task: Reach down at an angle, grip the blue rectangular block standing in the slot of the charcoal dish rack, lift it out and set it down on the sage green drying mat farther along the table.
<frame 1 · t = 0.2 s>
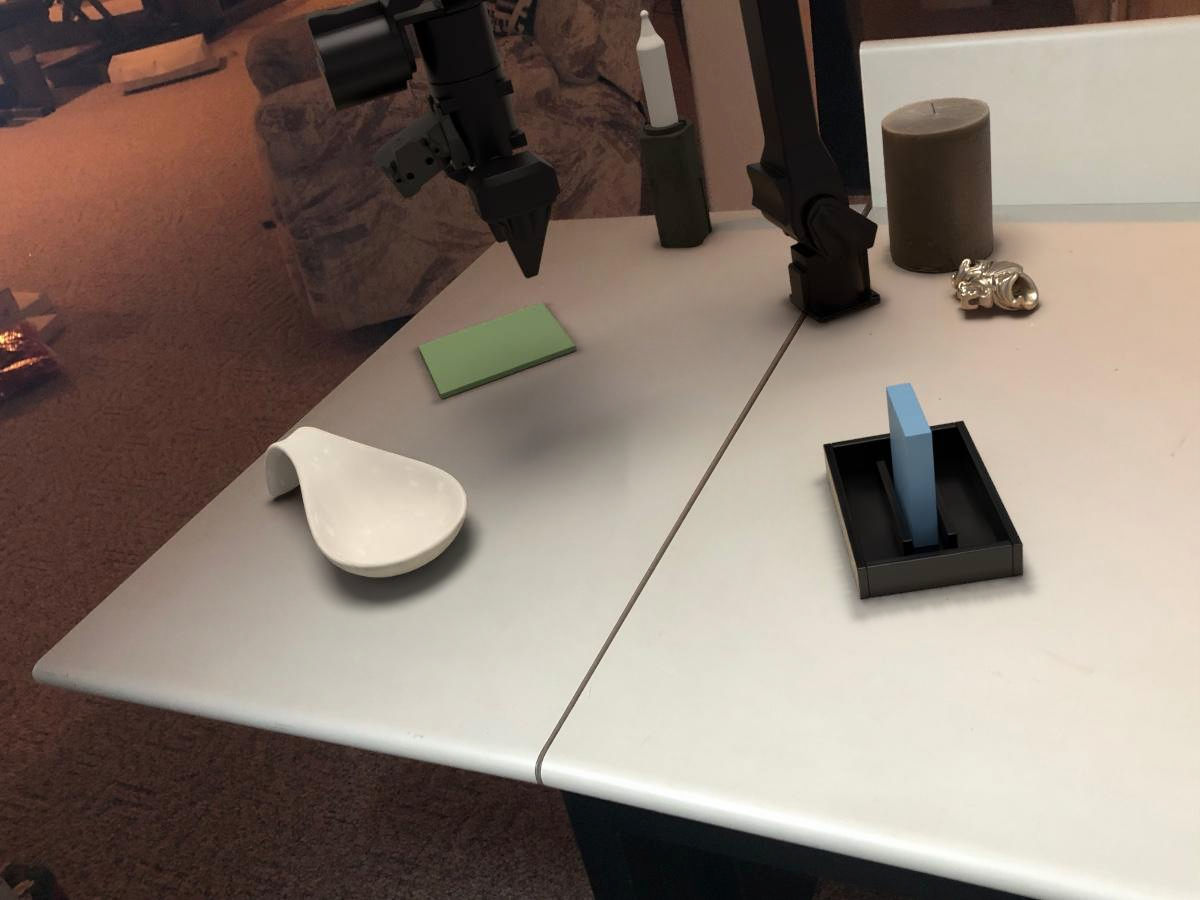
hand: (517, 258, 91), 15 cm above the table, tool pointing down, fingers open, 9 cm apart
candle: (686, 238, 123), on the table
drying mat: (495, 350, 110), on the table
blue rectangular block: (916, 518, 74), point 1 cm above the table, touching dish rack
pillar candle: (941, 252, 107), on the table
spoon rest: (364, 529, 89), on the table
dish rack: (916, 529, 74), on the table
ornament: (989, 305, 97), on the table
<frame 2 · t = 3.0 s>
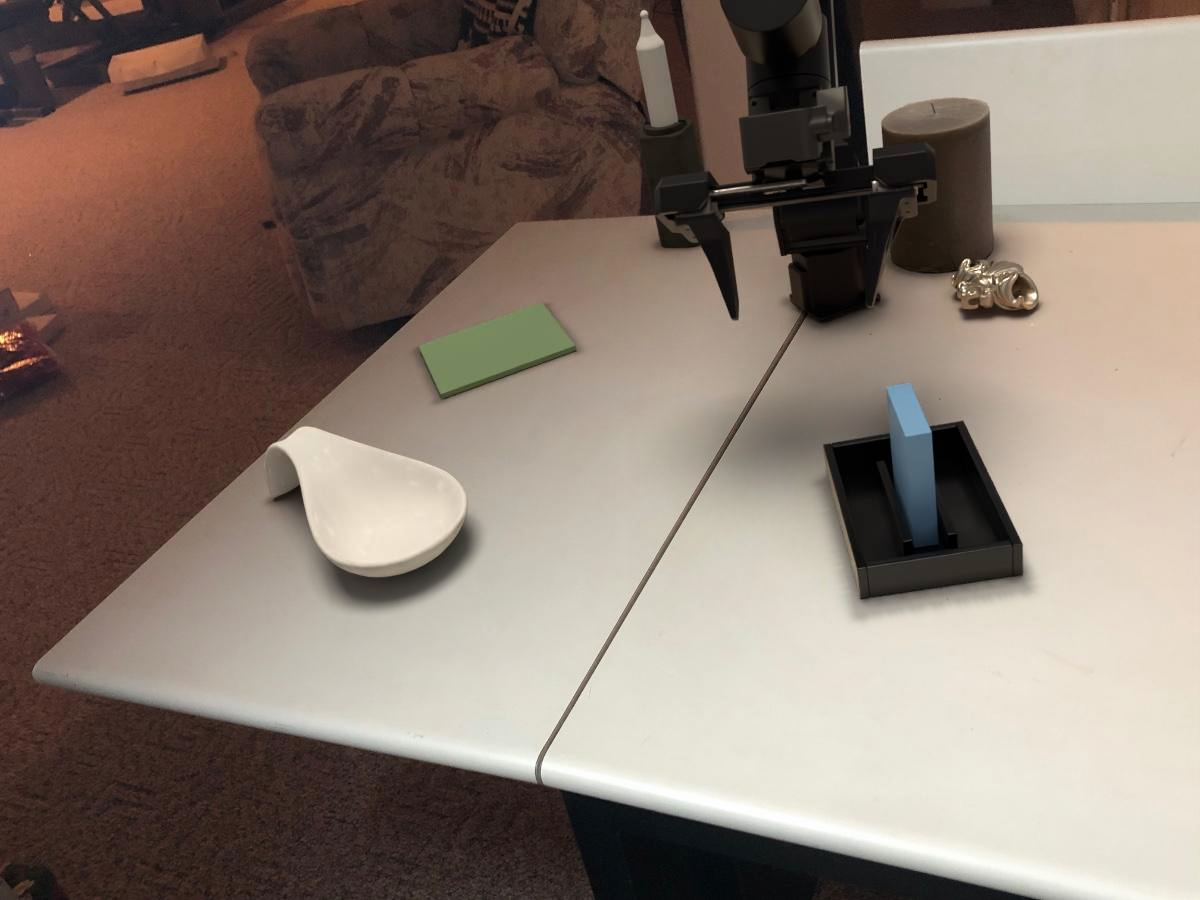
hand: (801, 313, 74), 14 cm above the table, tool tilted 40°, fingers open, 9 cm apart
nothing on the table moved.
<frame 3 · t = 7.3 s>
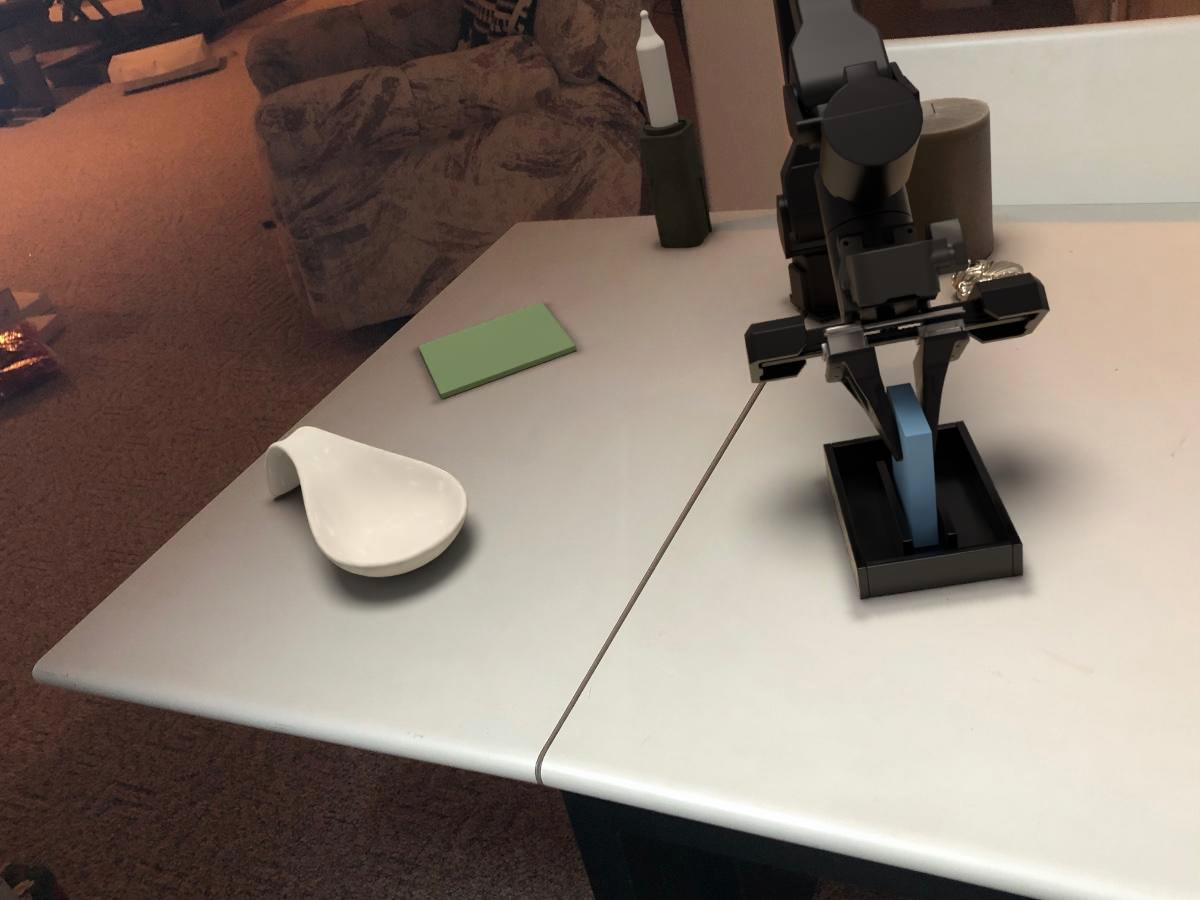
hand: (915, 458, 69), 7 cm above the table, tool tilted 45°, fingers closed on blue rectangular block, 2 cm apart
blue rectangular block: (916, 518, 74), point 1 cm above the table, touching dish rack, gripper
everything else where it was.
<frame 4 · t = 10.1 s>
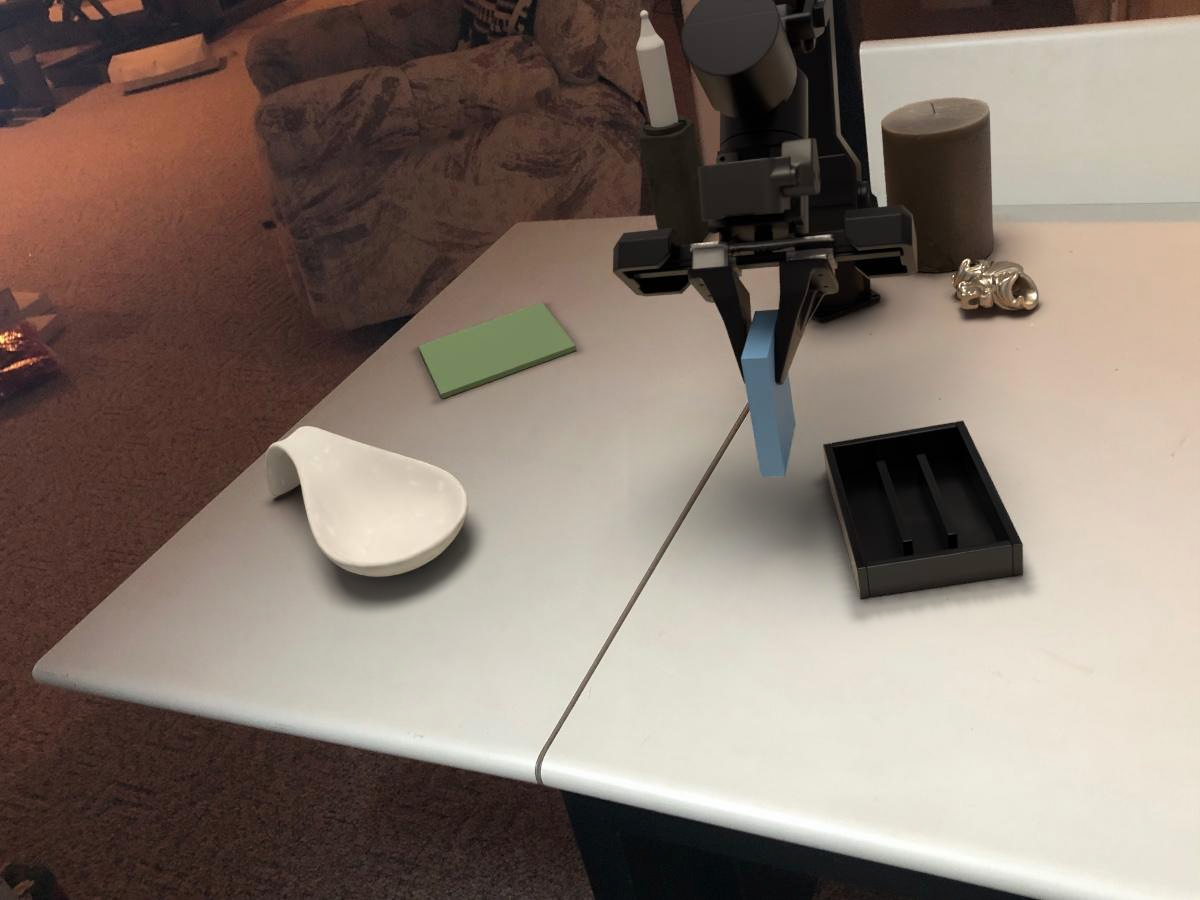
hand: (763, 384, 68), 14 cm above the table, tool tilted 45°, fingers closed on blue rectangular block
blue rectangular block: (778, 449, 72), point 7 cm above the table, touching gripper
everything else where it was.
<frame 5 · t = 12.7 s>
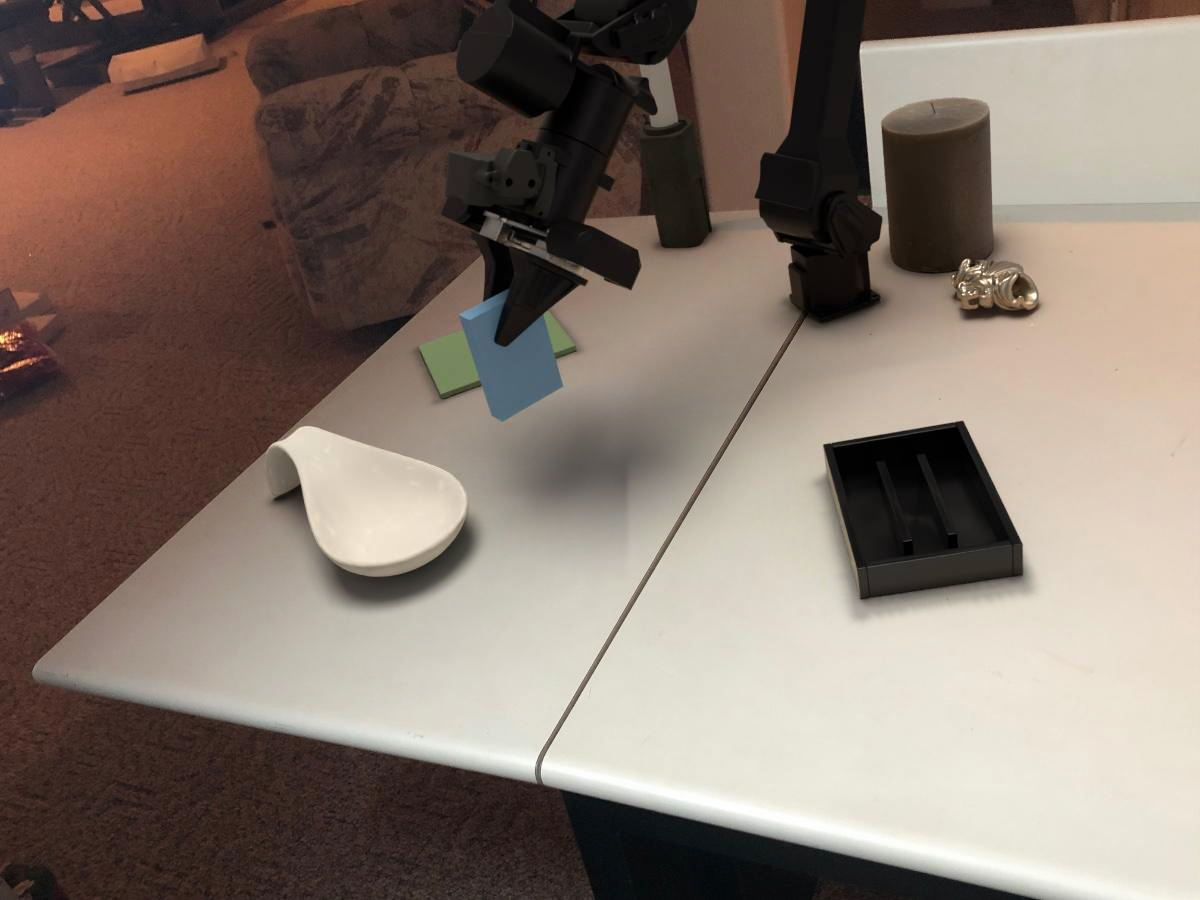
hand: (492, 341, 81), 14 cm above the table, tool tilted 45°, fingers closed on blue rectangular block
blue rectangular block: (527, 401, 85), point 7 cm above the table, touching gripper
everything else where it was.
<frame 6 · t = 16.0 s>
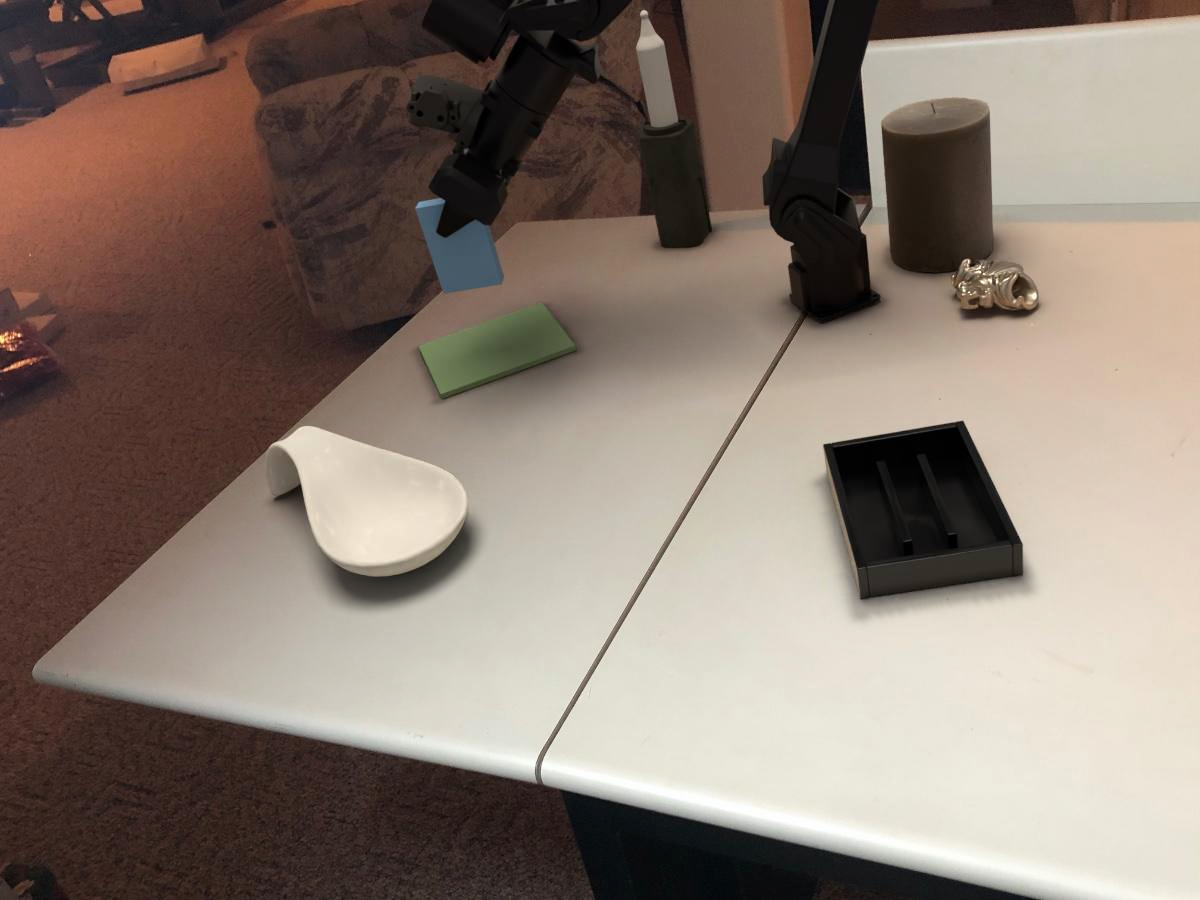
hand: (443, 230, 103), 14 cm above the table, tool tilted 45°, fingers closed on blue rectangular block
blue rectangular block: (473, 285, 106), point 7 cm above the table, touching gripper
everything else where it was.
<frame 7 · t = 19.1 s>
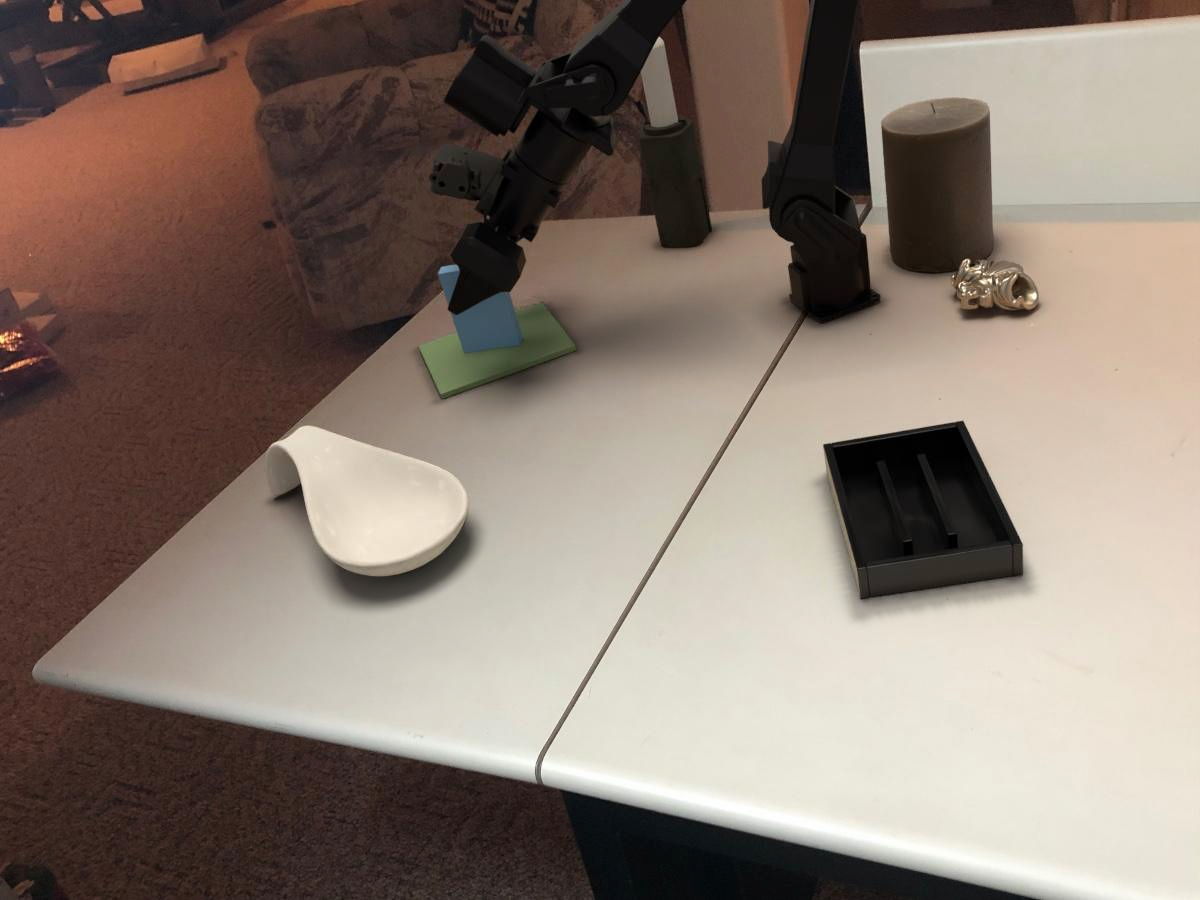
hand: (462, 290, 107), 7 cm above the table, tool tilted 45°, fingers open, 9 cm apart
blue rectangular block: (493, 345, 110), point 1 cm above the table, touching drying mat
everything else where it was.
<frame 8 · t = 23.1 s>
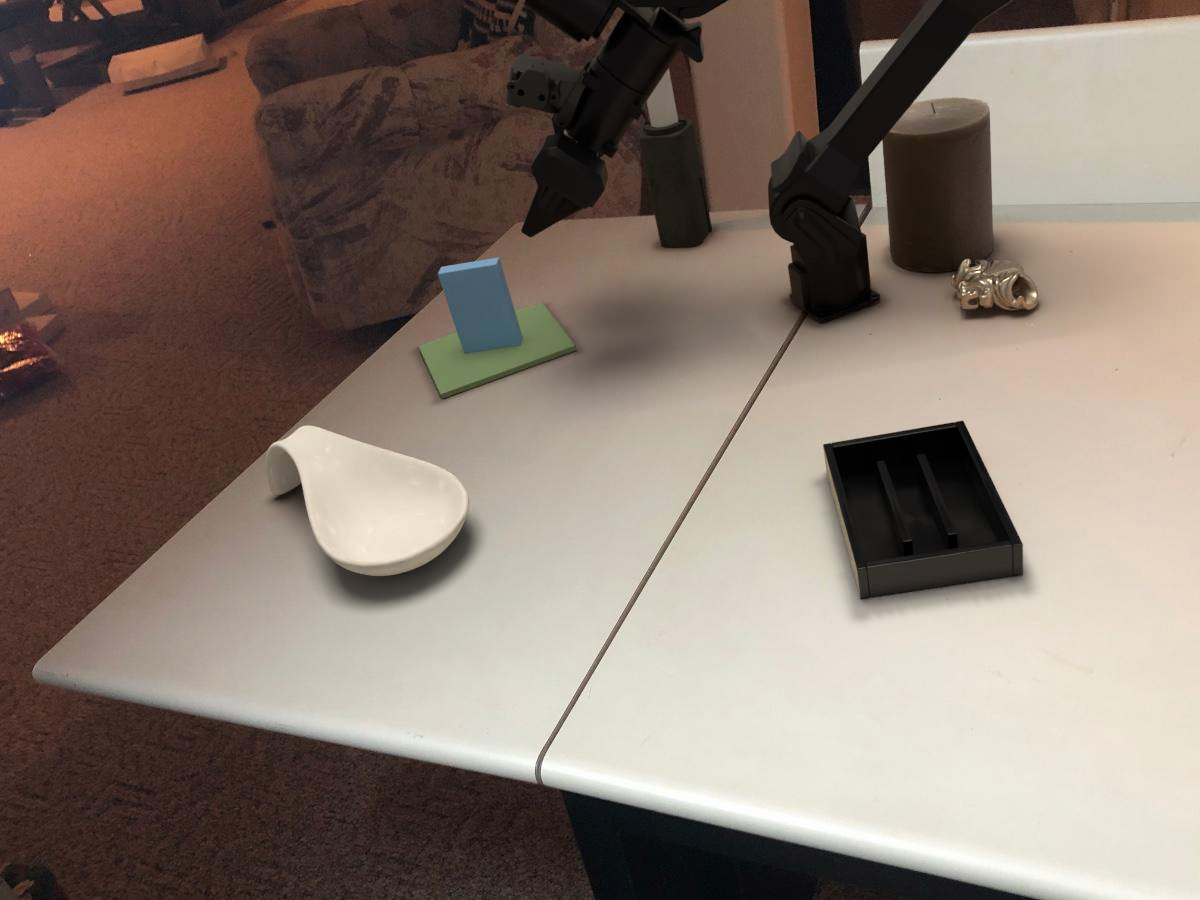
hand: (533, 214, 101), 14 cm above the table, tool tilted 45°, fingers open, 9 cm apart
nothing on the table moved.
at the end: blue rectangular block inside the target area on the drying mat (0.1 cm from its centre), point 0.6 cm above the drying mat's base; the gripper is holding nothing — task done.
